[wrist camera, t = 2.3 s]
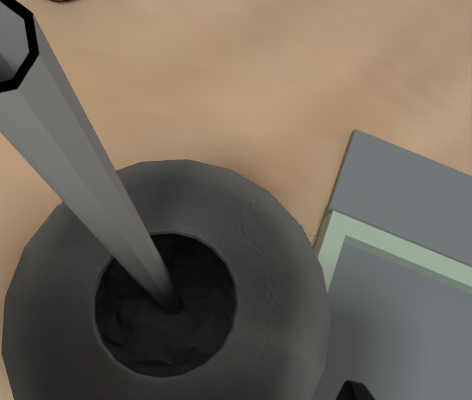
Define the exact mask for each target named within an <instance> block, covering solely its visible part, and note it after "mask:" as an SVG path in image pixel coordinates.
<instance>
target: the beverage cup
mask: <svg viewBox="0 0 472 400" xmlns="http://www.w3.org/2000/svg"><path fill="white" fill-rule="evenodd" d="M0 132H1V133H2V134H3V135H4V136H5V137H6V139H7V140H8V141H9V142H10V143H11V144H12V145H13V146H14V147H15V148H16V150H17V151H18V152H19V153H20V154H21V155H22V156H23V157H24V158H25V159H26V161H27V162H28V163H29V164H30V165H31V166H32V167H33V168H34V169H35V170H36V172H37V173H38V174H39V175H40V176H41V177H42V178H43V179H44V180H45V181H46V183H47V184H48V185H49V186H50V187H51V188H52V189H53V190H54V191H55V192H56V194H57V195H58V196H59V197H60V198H61V199H62V200H63V201H64V202H62V203H61V204H60V205H58V206H57V207H56V208H55V209H54V210H53V212H52V213H51V214H50V216H49V217H48V218H47V219H46V221H45V222H44V223H43V225H42V226H41V227H40V228H39V230H38V231H37V232H36V234H35V235H34V236H33V237H32V239H31V240H30V241H29V242H28V244H27V245H26V246H25V248H24V250H23V253H22V255H21V258H20V261H19V263H18V266H17V268H16V271H15V273H14V276H13V279H12V281H11V284H10V286H9V289H8V291H7V294H6V297H5V307H4V322H3V338H2V357H3V360H4V364H5V368H6V371H7V375H8V379H9V382H10V386H11V390H12V393H13V397H14V400H311V398H312V396H313V393H314V391H315V389H316V387H317V385H318V382H319V380H320V378H321V376H322V374H323V371H324V368H325V361H326V353H327V345H328V337H329V329H330V321H331V315H330V309H329V303H328V297H327V291H326V285H325V279H324V273H323V268H322V266H321V264H320V262H319V260H318V258H317V256H316V254H315V252H314V250H313V248H312V246H311V244H310V242H309V240H308V238H307V236H306V234H305V232H304V230H303V228H302V226H301V225H300V224H299V223H298V222H297V221H296V220H295V219H294V218H293V217H292V216H291V214H290V213H289V212H288V211H287V210H286V209H285V208H284V207H283V206H282V205H281V204H280V203H279V202H278V201H277V200H276V198H275V197H274V196H273V195H272V194H271V193H270V192H268V191H267V190H265V189H263V188H262V187H260V186H258V185H256V184H255V183H253V182H251V181H249V180H248V179H246V178H244V177H242V176H241V175H239V174H237V173H236V172H234V171H232V170H230V169H226V168H221V167H217V166H213V165H209V164H204V163H200V162H196V161H192V160H187V159H185V160H168V161H150V162H140V163H137V164H134V165H131V166H129V167H126V168H123V169H120V170H117V171H115V169H114V167H113V165H112V163H111V161H110V159H109V157H108V156H107V154H106V152H105V150H104V148H103V146H102V144H101V142H100V140H99V138H98V136H97V135H96V133H95V131H94V129H93V127H92V125H91V123H90V121H89V119H88V117H87V115H86V114H85V112H84V110H83V108H82V106H81V104H80V102H79V100H78V98H77V96H76V95H75V93H74V91H73V89H72V87H71V85H70V83H69V81H68V79H67V77H66V75H65V74H64V72H63V70H62V68H61V66H60V64H59V62H58V60H57V58H56V56H55V54H54V53H53V51H52V49H51V47H50V45H49V43H48V41H47V39H46V37H45V35H44V34H43V32H42V30H41V28H40V26H39V24H38V22H37V20H36V18H35V16H34V14H33V13H32V12H31V11H29V10H28V9H27V8H25V7H24V6H23V5H21V4H20V3H19V2H17V1H16V0H0Z"/></svg>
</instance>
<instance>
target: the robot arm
mask: <svg viewBox="0 0 472 400" xmlns="http://www.w3.org/2000/svg"><path fill="white" fill-rule="evenodd" d="M335 400H375V398H374V397H373V395H372V394H371V393H370V391H369V390H368V388H367V387H366V386H365V385H364V384H363V383H362V382H358V381H353V380H346V381H345V382H344V384H343V386H342V388H341V389H340V391H339V393H338V395H337V397H336V399H335Z"/></svg>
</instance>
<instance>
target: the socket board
mask: <svg viewBox="0 0 472 400" xmlns="http://www.w3.org/2000/svg"><path fill="white" fill-rule="evenodd" d="M313 250H314V252H315V254H316V256H317V258H318V260H319V262H320V264H321V266H322V268H323V273H324V279H325V285H326V291H327V297H328V303H329V309H330V315H331V321H330V329H329V337H328V345H327V353H326V361H325V368H324V371H323V374H322V376H321V378H320V380H319V382H318V385H317V387H316V389H315V391H314V393H313V396H312V398H311V400H335V399H336V397H337V395H338V393H339V391H340V389H341V388H342V386H343V384H344V382H345V381H346V380H353V381H358V382H362V383H363V384H364V385H365V386H366V387H367V388H368V390H369V391H370V393H371V394H372V395H373V397H374V398H375V400H472V176H470V175H467V174H465V173H463V172H460V171H458V170H455V169H453V168H450V167H448V166H445V165H443V164H440V163H438V162H435V161H433V160H431V159H428V158H426V157H423V156H421V155H418V154H416V153H413V152H411V151H408V150H406V149H403V148H401V147H399V146H396V145H394V144H391V143H389V142H386V141H384V140H381V139H379V138H376V137H374V136H371V135H369V134H367V133H364V132H362V131H359V130H357V129H355V130H354V132H353V133H352V135H351V138H350V141H349V144H348V147H347V150H346V153H345V156H344V159H343V162H342V164H341V167H340V170H339V173H338V176H337V179H336V182H335V185H334V188H333V191H332V194H331V197H330V200H329V203H328V206H327V209H326V212H325V215H324V218H323V221H322V224H321V227H320V230H319V232H318V235H317V238H316V241H315V244H314V247H313Z"/></svg>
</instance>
